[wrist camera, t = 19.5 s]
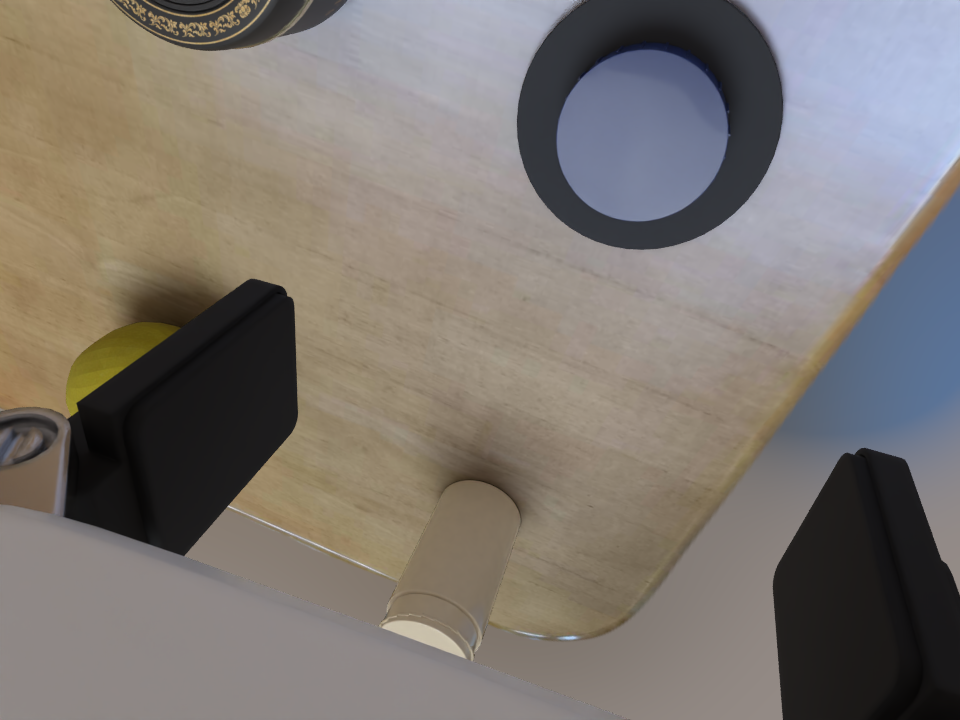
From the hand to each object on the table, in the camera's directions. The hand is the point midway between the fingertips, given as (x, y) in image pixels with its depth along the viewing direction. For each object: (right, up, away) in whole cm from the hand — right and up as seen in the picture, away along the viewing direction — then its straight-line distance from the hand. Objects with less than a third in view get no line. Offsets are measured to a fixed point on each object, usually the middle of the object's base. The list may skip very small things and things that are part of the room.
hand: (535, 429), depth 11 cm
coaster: (+6, +11, +18) cm, 22 cm away
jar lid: (+6, +10, +16) cm, 20 cm away
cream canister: (-1, -9, +33) cm, 34 cm away
